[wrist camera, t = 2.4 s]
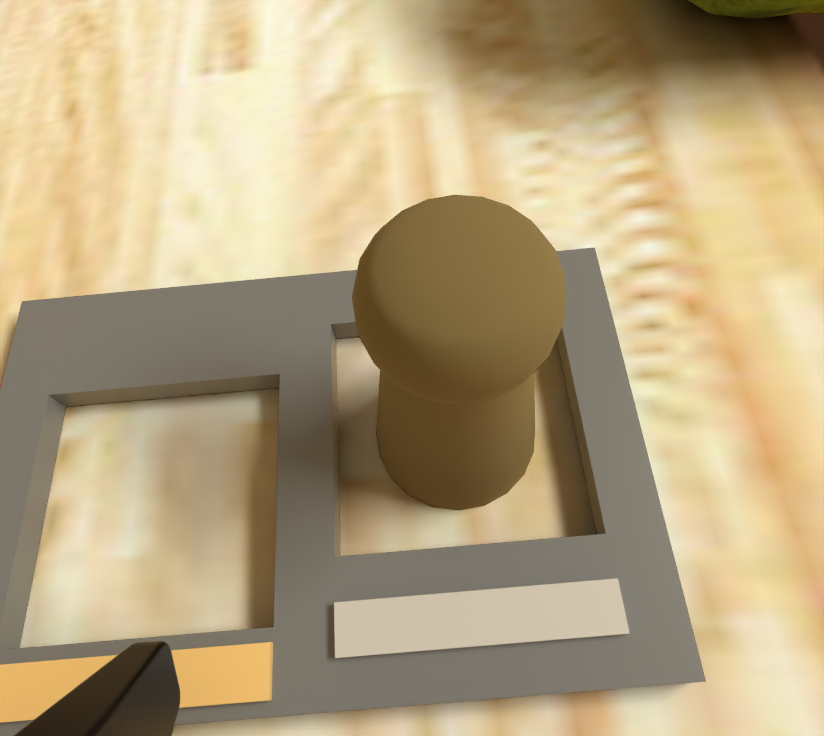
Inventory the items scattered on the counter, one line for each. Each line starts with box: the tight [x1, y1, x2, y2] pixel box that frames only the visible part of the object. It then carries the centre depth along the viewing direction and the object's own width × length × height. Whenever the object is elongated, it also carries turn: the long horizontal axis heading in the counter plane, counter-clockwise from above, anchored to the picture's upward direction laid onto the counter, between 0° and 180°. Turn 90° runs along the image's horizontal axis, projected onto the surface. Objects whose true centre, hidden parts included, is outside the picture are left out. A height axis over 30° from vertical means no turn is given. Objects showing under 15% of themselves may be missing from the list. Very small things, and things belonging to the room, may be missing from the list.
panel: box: [0, 248, 706, 736], centre depth 22 cm, size 16×24×2 cm, turn 94°
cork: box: [352, 195, 566, 510], centre depth 19 cm, size 6×6×11 cm
